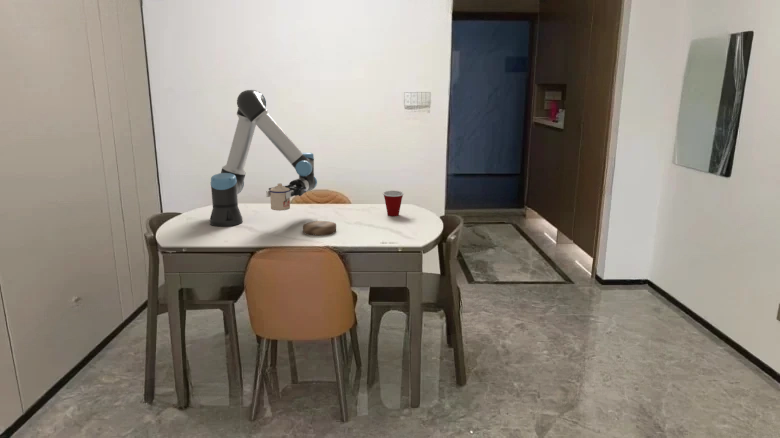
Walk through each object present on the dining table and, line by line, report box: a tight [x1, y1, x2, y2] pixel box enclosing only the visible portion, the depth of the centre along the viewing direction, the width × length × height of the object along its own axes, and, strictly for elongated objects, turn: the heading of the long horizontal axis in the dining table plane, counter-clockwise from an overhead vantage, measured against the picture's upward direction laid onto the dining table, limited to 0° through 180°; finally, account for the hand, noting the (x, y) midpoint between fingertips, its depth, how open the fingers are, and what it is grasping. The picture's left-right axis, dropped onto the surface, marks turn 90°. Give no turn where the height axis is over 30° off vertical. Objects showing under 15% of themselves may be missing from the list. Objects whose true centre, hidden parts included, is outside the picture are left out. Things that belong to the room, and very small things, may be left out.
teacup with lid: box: [270, 183, 291, 212], centre depth 248 cm, size 12×9×12 cm
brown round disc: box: [302, 220, 337, 236], centre depth 246 cm, size 15×15×3 cm
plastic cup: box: [382, 190, 405, 217], centre depth 277 cm, size 11×11×12 cm
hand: (276, 194), depth 243 cm, fingers closed on teacup with lid, 9 cm apart
